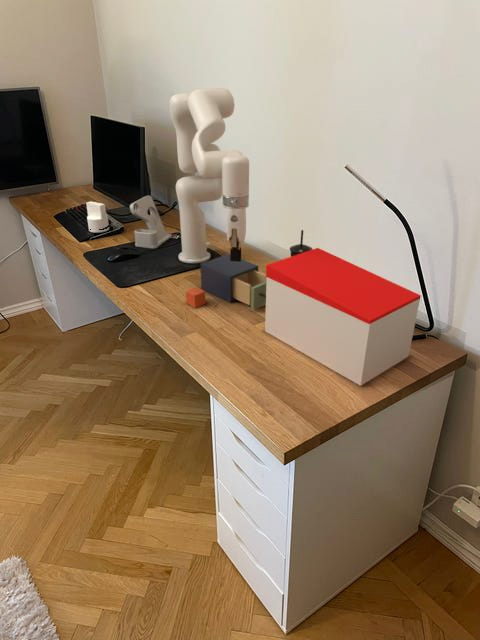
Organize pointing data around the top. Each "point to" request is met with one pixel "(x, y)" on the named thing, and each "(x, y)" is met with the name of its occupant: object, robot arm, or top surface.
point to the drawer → (250, 288)
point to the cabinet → (223, 275)
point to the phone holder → (148, 224)
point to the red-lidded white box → (339, 314)
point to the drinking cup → (299, 247)
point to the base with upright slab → (97, 217)
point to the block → (195, 297)
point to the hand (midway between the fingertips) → (235, 260)
